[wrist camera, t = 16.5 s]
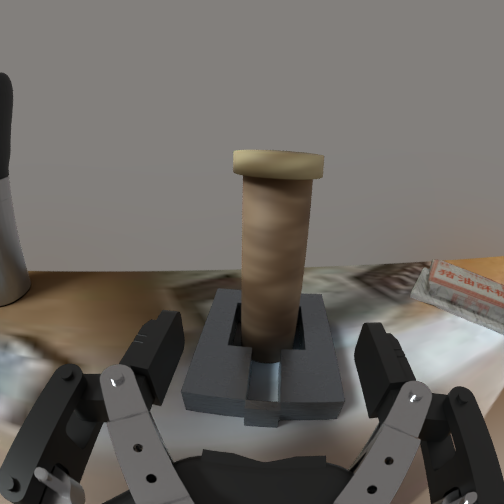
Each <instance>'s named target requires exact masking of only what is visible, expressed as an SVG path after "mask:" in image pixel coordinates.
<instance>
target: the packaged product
mask: <svg viewBox="0 0 504 504" xmlns="http://www.w3.org/2000/svg"><path fill="white" fill-rule="evenodd" d="M410 297H411V298H414V299H416V300H419V301H421V302H424V303H428V304H431V305H434V306H436V307H437V308H439V309H442V310H444V311H447V312H449V313H451V314H454V315H456V316H459V317H461V318H463V319H466V320H468V321H470V322H473V323H475V324H478V325H481V326H484V327H486V328H488V329H491V330H494V331H497V332H499V333H501V334H503V335H504V285H502V284H499V283H497V282H495V281H493V280H491V279H488V278H486V277H483V276H480V275H478V274H476V273H473V272H470V271H468V270H465V269H463V268H460V267H458V266H454V265H452V264H449V263H447V262H444V261H441V260H436V259H434V260H432V262H431V266H430V269H427V268H423V270H422V272H421V274H420V276H419V278H418V280H417V282H416V284H415V286H414V288H413V290H412V292H411V296H410Z"/></svg>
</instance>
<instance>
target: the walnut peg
mask: <svg viewBox="0 0 504 504" xmlns="http://www.w3.org/2000/svg"><path fill="white" fill-rule="evenodd" d="M233 161H234V162H233V172H234V173H236V174H239V175H243V209H242V210H243V211H242V215H243V216H242V293H241V347H252V360H254V361H257V362H260V363H276V362H280V355H281V349H290V350H292V349H293V344H294V337H295V331H296V325H297V318H298V311H299V304H300V297H301V289H302V282H303V274H304V265H305V257H306V248H307V239H308V228H309V218H310V207H311V195H312V182H313V179H320V178H322V177H323V166H324V156H323V155H318V154H311V153H302V152H291V151H276V150H237V151H234V158H233Z"/></svg>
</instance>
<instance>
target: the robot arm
mask: <svg viewBox="0 0 504 504" xmlns="http://www.w3.org/2000/svg"><path fill="white" fill-rule="evenodd" d="M12 108H13V89H12V84H11V81H10V79H9V77H8V76H7V75H6V74H5V73H0V306H3V305H6V304H9V303H11V302H14V301H15V300H17V299H19V298H20V297H21V296H23V295H24V294H25V293H26V292H27V291H28V290H29V288H30V286H31V281H30V278H29V274H28V271H27V268H26V264H25V261H24V256H23V253H22V249H21V245H20V240H19V236H18V231H17V227H16V222H15V216H14V210H13V204H12V197H11V191H10V182H9V177H8V175H9V170H8V166H9V159H10V138H11V136H10V135H11V121H12ZM184 343H185V339H184V332H183V326H182V319H181V314H180V312H177V311H168V310H162V311H161V313H160V315H159V316H158V318H157V320H152V319H151V320H150V321H148V322H147V323H146V324H144V325H143V326H142V328H141V329H140V331H139V332H138V335H136V337H135V339H134V342H132V343H131V345H130V347H129V348H128V350H127V352H126V353H125V355H124V356H123V358H122V360H121V361H120V363H119V364H117V365H112V366H110V367H108V368H106V369H105V370H104V371H103V372H102V374H83V372H82V370H81V369H80V367H79V366H77V365H75V364H65V365H62V366H61V367H59V368H58V369H57V370H56V371H55V372H54V374H53V375H52V377H51V378H50V380H49V382H48V383H47V385H46V386H45V388H44V389H43V391H42V393H41V394H40V396H39V397H38V399H37V401H36V402H35V404H34V406H33V407H32V409H31V411H30V413H29V414H28V416H27V418H26V419H25V421H24V423H23V425H22V427H21V428H20V430H19V432H18V434H17V436H16V438H15V440H14V442H13V444H12V446H11V448H10V450H9V452H8V454H7V456H6V458H5V460H4V462H3V464H2V466H1V469H0V493H1V495H2V496H3V497H4V498H5V499H7V500H8V501H10V502H12V503H13V504H84V503H85V493H84V490H83V488H82V486H81V485H80V481H81V478H82V475H83V473H84V470H85V467H86V465H87V462H88V459H89V457H90V454H91V452H92V449H93V447H94V444H95V442H96V439H97V437H98V434H99V432H100V429H101V427H102V425H103V422H107V427H108V431H109V434H110V437H111V441H112V444H113V447H114V450H115V453H116V456H117V459H118V462H119V464H120V467H121V470H122V473H123V475H124V478H125V480H126V483H127V485H128V487H129V490H127V491H125V492H124V493H122V494H120V495H118V496H116V497H114V498H112V499H110V500H108V501H106V502H104V503H102V504H390V503H391V501H392V499H393V497H394V496H395V494H396V492H397V490H398V489H399V487H400V485H401V483H402V481H403V479H404V477H405V475H406V473H407V471H408V469H409V467H410V465H411V463H412V461H413V458H414V456H415V454H416V452H417V449H418V447H419V445H421V450H422V454H423V459H424V464H425V469H426V475H427V480H428V487H429V493H430V500H431V504H504V480H503V476H502V473H501V469H500V465H499V462H498V458H497V455H496V452H495V449H494V446H493V443H492V440H491V437H490V434H489V432H488V429H487V426H486V423H485V421H484V418H483V416H482V413H481V411H480V409H479V406H478V404H477V402H476V399H475V397H474V395H473V393H472V392H471V391H470V390H469V389H467V388H465V387H461V386H458V387H455V388H453V389H452V390H451V391H450V392H449V394H448V395H444V394H435V393H431V391H430V389H429V388H428V386H426V385H425V384H424V383H422V382H419V381H416V379H415V376H414V374H413V372H412V370H411V367H410V365H409V363H408V361H407V358H406V357H405V354H404V352H403V351H402V348H401V346H400V344H399V342H398V340H397V339H396V338H395V337H394V336H393V335H392V334H391V333H386V332H385V329H384V327H383V325H382V324H381V323H380V322H379V323H364V324H363V326H362V329H361V332H360V335H359V338H358V342H357V345H356V348H355V352H354V360H355V364H356V368H357V372H358V375H359V379H360V383H361V387H362V391H363V395H364V399H365V403H366V407H367V412H368V416H369V418H377V417H378V419H379V423H378V425H377V426H376V428H375V430H374V431H373V433H372V435H371V437H370V438H369V440H368V441H367V443H366V445H365V446H364V448H363V449H362V451H361V452H360V454H359V455H358V457H357V458H356V460H355V461H354V462H353V464H352V465H351V466H350V467H349V469H348V470H347V469H345V468H343V467H341V466H338V465H335V464H331V463H326V456H305V457H292V458H288V459H283V460H277V461H272V462H260V461H256V460H253V459H249V458H246V457H243V456H240V455H237V454H233V453H226V452H218V451H211V450H205V449H203V452H202V456H195V457H189V458H185V459H182V460H179V461H176V462H174V461H173V459H172V457H171V455H170V453H169V451H168V449H167V448H166V446H165V444H164V442H163V439H162V437H161V435H160V433H159V431H158V429H157V426H156V424H155V422H154V420H153V417H152V415H151V413H150V409H151V407H152V404H154V405H158V406H161V405H162V403H163V400H164V398H165V395H166V393H167V390H168V388H169V385H170V382H171V380H172V377H173V375H174V372H175V370H176V367H177V365H178V362H179V360H180V357H181V355H182V353H183V350H184ZM450 434H452V437H453V440H454V444H455V447H456V451H455V449H454V445H453V442H452V438H451V435H450Z"/></svg>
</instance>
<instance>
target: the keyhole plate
mask: <svg viewBox="0 0 504 504" xmlns="http://www.w3.org/2000/svg"><path fill="white" fill-rule="evenodd" d="M241 293H242V290H232V289H219V288H218V290H217V293H216V295H215V298H214V301H213V303H212V306H211V309H210V312H209V314H208V317H207V320H206V322H205V325H204V328H203V331H202V334H201V336H200V339H199V342H198V345H197V347H196V350H195V353H194V356H193V359H192V361H191V364H190V367H189V370H188V373H187V376H186V378H185V381H184V384H183V387H182V390H181V393H182V397H183V400H184V404H185V407H186V410H191V411H197V412H203V413H210V414H217V415H225V416H234V417H244V425H245V426H258V427H277V426H278V421H279V420H325V419H337V417H338V415H339V413H340V411H341V408H342V406H343V404H344V402H345V399H344V394H343V388H342V383H341V378H340V373H339V368H338V363H337V359H336V354H335V349H334V345H333V340H332V336H331V331H330V327H329V323H328V319H327V315H326V310H325V306H324V302H323V298H322V294H301V297H300V304H299V311H298V318H297V325H298V330H299V342H300V350H290V349H281V355H280V362H279V376H278V402H271V401H254V400H247V399H248V391H249V383H250V375H251V366H252V347H241V346H233V341H234V336H235V331H236V327H237V322H241Z"/></svg>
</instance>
